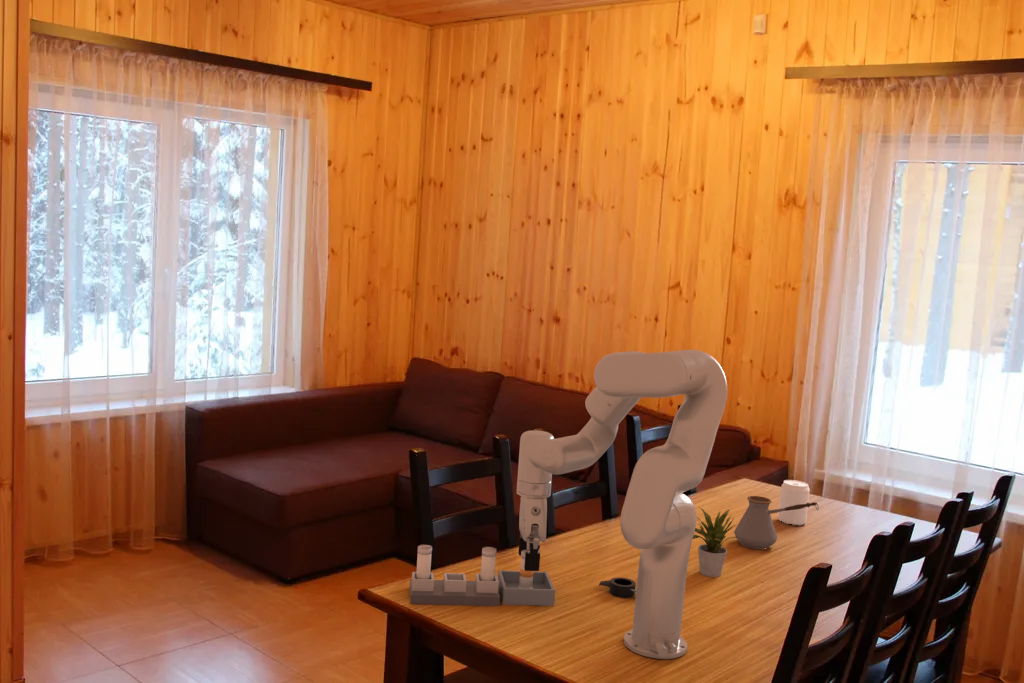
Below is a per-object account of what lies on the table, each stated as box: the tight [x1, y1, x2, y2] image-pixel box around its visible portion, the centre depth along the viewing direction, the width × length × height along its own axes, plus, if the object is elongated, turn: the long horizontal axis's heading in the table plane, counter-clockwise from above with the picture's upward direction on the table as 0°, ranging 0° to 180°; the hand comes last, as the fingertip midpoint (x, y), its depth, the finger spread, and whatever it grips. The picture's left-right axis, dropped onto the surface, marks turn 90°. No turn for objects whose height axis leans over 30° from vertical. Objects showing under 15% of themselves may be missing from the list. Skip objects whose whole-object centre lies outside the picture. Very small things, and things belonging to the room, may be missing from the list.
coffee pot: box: [733, 495, 820, 550], centre depth 264 cm, size 21×12×15 cm, turn 61°
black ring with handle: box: [598, 576, 637, 599], centre depth 223 cm, size 8×10×3 cm
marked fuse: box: [519, 550, 534, 589], centre depth 217 cm, size 3×3×9 cm
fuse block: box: [409, 571, 501, 607], centre depth 213 cm, size 9×19×4 cm, turn 97°
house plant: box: [693, 506, 739, 578], centre depth 242 cm, size 14×14×16 cm
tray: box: [497, 569, 556, 607], centre depth 217 cm, size 11×11×4 cm
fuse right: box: [480, 546, 497, 581], centre depth 214 cm, size 3×3×9 cm
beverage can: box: [777, 479, 811, 526], centre depth 291 cm, size 8×8×12 cm
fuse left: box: [415, 544, 433, 579], centre depth 212 cm, size 3×3×9 cm
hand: (528, 562), depth 217 cm, fingers open, 9 cm apart
